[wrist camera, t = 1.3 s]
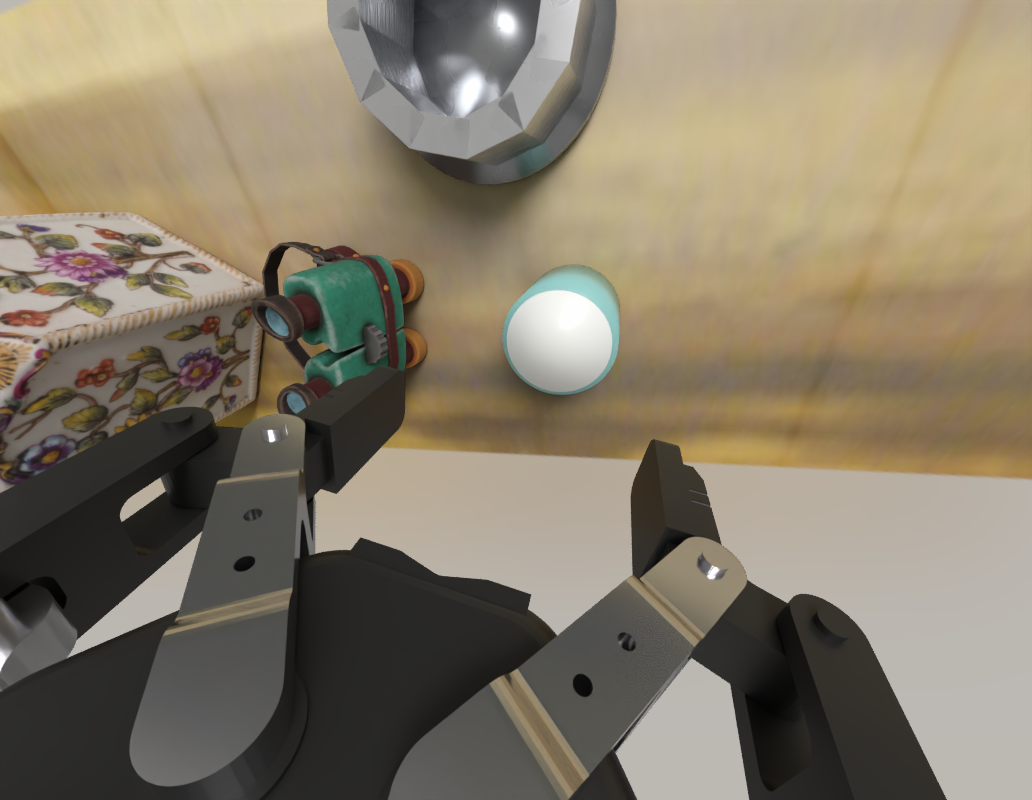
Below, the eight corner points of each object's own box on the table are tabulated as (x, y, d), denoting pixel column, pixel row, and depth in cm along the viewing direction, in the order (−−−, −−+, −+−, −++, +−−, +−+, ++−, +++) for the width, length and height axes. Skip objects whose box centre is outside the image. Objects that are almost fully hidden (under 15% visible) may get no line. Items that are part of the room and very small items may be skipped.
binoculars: (129, 249, 18) (299, 278, 15) (309, 233, 27) (437, 249, 24) (194, 415, 22) (335, 461, 19) (330, 354, 31) (441, 379, 28)
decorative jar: (274, 285, 28) (-145, 393, 13) (261, 403, 34) (-35, 572, 19) (130, 205, 28) (-466, 218, 13) (143, 337, 34) (-252, 454, 19)
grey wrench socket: (655, -138, 15) (668, -281, 10) (579, 203, 21) (566, 206, 16) (375, -159, 17) (281, -292, 12) (379, 163, 23) (317, 156, 18)
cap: (633, 276, 22) (635, 300, 17) (604, 366, 25) (599, 409, 20) (535, 255, 23) (510, 271, 18) (519, 345, 26) (493, 381, 21)
